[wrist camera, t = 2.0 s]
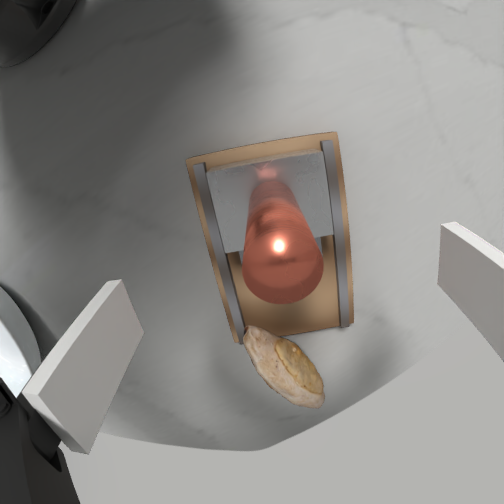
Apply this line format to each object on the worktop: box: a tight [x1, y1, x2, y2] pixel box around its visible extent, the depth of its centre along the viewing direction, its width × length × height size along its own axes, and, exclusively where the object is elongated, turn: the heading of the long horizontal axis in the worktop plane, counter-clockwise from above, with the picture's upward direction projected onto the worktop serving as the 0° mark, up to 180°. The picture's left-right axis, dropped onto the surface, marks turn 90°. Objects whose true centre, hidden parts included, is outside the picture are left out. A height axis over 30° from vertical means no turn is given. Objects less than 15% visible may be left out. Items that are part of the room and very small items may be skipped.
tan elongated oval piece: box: [243, 326, 325, 408], centre depth 29 cm, size 5×14×4 cm
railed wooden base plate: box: [186, 132, 354, 344], centre depth 26 cm, size 18×12×2 cm, turn 11°
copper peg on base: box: [206, 148, 334, 304], centre depth 18 cm, size 8×8×13 cm
